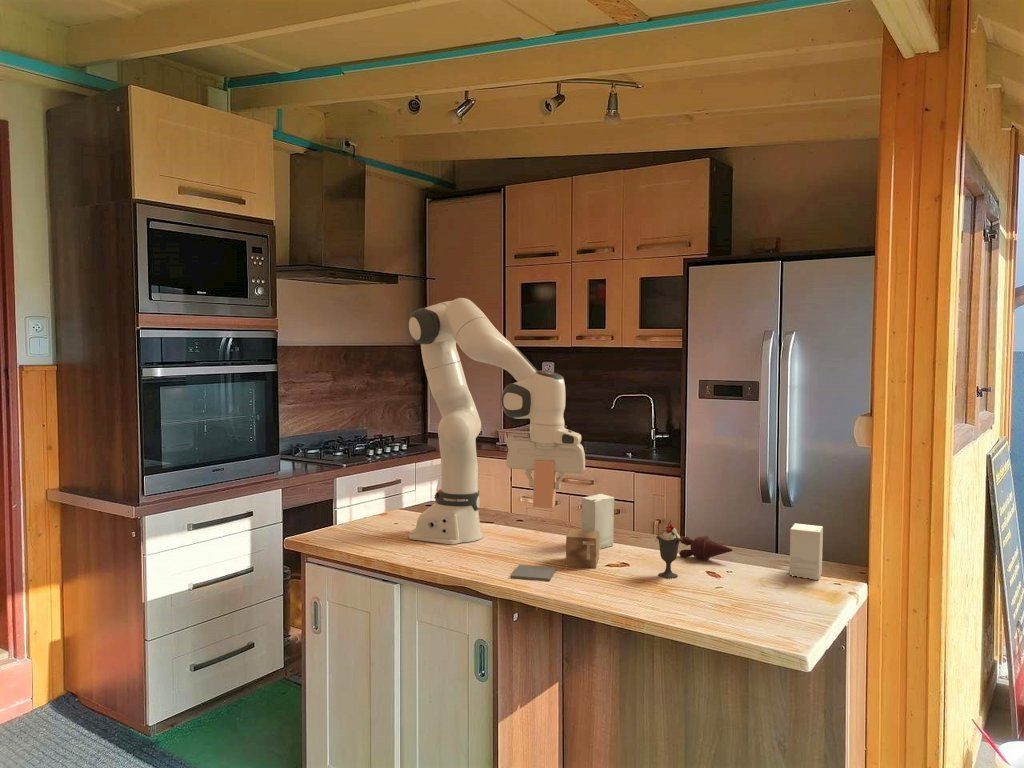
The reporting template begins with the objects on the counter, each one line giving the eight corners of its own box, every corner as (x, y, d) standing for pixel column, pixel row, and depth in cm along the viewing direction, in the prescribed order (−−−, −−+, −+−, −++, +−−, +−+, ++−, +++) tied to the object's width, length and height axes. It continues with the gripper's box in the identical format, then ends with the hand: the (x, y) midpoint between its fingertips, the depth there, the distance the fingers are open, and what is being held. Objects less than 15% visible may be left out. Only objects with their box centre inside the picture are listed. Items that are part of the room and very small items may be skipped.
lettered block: (565, 566, 211) (566, 536, 211) (570, 557, 219) (570, 529, 219) (595, 568, 209) (596, 538, 209) (598, 559, 217) (599, 531, 217)
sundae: (666, 581, 199) (667, 522, 198) (650, 573, 205) (651, 516, 204) (686, 577, 202) (688, 519, 201) (670, 570, 208) (671, 514, 207)
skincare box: (599, 542, 236) (600, 493, 236) (614, 546, 232) (615, 496, 231) (579, 546, 231) (580, 496, 230) (594, 551, 226) (595, 499, 226)
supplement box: (822, 573, 207) (824, 526, 207) (818, 580, 201) (820, 531, 200) (793, 569, 211) (794, 522, 210) (788, 576, 204) (789, 528, 204)
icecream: (736, 537, 219) (684, 534, 226) (728, 536, 212) (675, 533, 220) (736, 563, 217) (683, 559, 225) (728, 562, 211) (674, 558, 219)
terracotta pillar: (532, 506, 201) (534, 460, 201) (536, 502, 206) (537, 457, 206) (552, 508, 200) (554, 461, 200) (555, 504, 205) (556, 458, 205)
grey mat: (510, 578, 200) (510, 575, 200) (518, 566, 210) (519, 564, 210) (549, 581, 198) (549, 578, 198) (556, 569, 208) (556, 567, 208)
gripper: (504, 433, 201) (502, 487, 202) (584, 438, 197) (582, 493, 198) (509, 430, 207) (507, 482, 208) (587, 435, 203) (585, 488, 204)
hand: (544, 487), depth 203 cm, fingers closed on terracotta pillar, 5 cm apart
